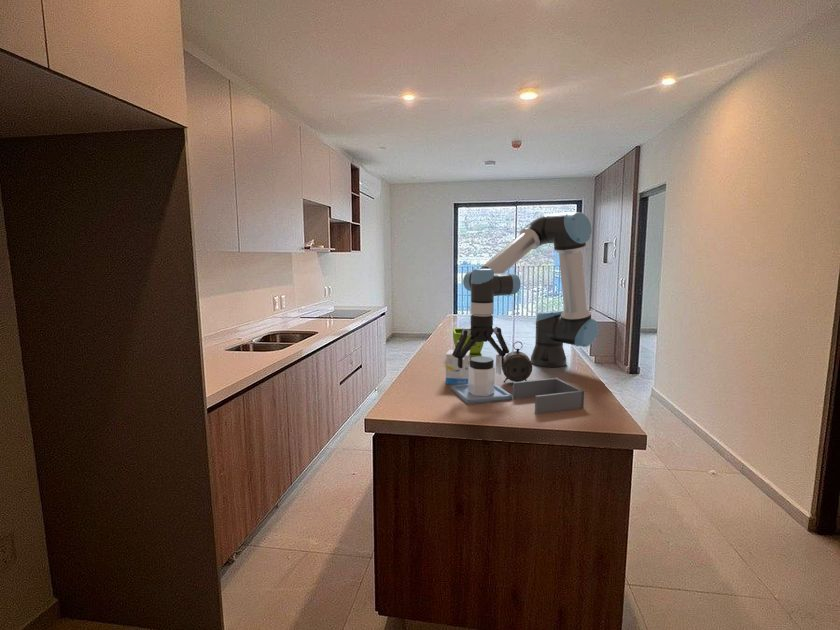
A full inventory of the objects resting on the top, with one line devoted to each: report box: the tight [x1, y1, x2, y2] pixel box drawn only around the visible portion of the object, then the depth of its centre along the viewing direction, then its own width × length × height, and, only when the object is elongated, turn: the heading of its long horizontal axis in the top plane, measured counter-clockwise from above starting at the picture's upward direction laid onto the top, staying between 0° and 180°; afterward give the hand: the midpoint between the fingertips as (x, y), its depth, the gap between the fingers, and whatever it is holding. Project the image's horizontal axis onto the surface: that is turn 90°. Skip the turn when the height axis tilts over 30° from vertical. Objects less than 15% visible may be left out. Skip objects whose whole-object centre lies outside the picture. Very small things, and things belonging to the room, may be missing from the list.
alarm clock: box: [501, 341, 533, 383], centre depth 161 cm, size 11×5×16 cm, turn 86°
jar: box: [468, 355, 496, 396], centre depth 150 cm, size 9×8×12 cm
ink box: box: [445, 349, 470, 385], centre depth 164 cm, size 9×8×12 cm
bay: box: [512, 377, 585, 415], centre depth 142 cm, size 17×15×6 cm
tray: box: [450, 383, 513, 406], centre depth 151 cm, size 16×16×2 cm
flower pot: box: [452, 327, 485, 358], centre depth 201 cm, size 14×14×13 cm
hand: (480, 375), depth 150 cm, fingers open, 13 cm apart
